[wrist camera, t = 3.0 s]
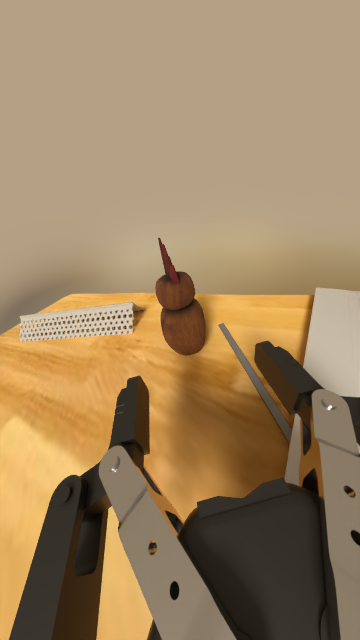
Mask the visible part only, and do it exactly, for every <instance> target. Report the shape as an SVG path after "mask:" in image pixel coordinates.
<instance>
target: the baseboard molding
mask: <svg viewBox="0 0 360 640" xmlns="http://www.w3.org/2000/svg"><path fill="white" fill-rule="evenodd" d="M303 368H304V369H305V370H306V371H307V372H308V373H309V374H310V375H311V376H312V377H313V378H314V379H315V380H316V381H317V382H318V383H319V384H320V385H321V386H322V387H323V388H324V389H326V390H329V391H332V392H334V393H336V394H338V395H339V396H347V397H360V291H348V290H339V289H327V288H316V290H315V296H314V302H313V308H312V314H311V320H310V326H309V332H308V338H307V344H306V350H305V356H304V362H303ZM300 419H301V418H300V417H299V415H298V414H297V413H296V414H295V417H294V423H293V429H292V435H291V441H290V447H289V454H288V460H287V466H286V472H285V478H284V479H285V481H286V482H287V483H292V484H296V485H298V486H299V464H300V459H301V437H300ZM357 446H358V450H359V453H360V446H359V444H358V443H357Z"/></svg>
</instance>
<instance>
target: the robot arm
mask: <svg viewBox="0 0 360 640" xmlns="http://www.w3.org/2000/svg"><path fill="white" fill-rule="evenodd" d="M255 363H256V365H257V367H258V369H259V370H260V371H261V373H262V374H263V376H264V377H265V379H266V380H267V382H268V383H269V385H270V386H271V387H272V389H273V390H274V392H275V393H276V395H277V396H278V398H279V399H280V401H281V402H282V403H283V405H284V406H285V408H286V409H287V411H288V412H289V414H290V415H292V414H296V413H297V414H298V415H299V417H300V418H301V419H300V437H301V459H300V464H299V486H298V485H296V484H292V483H287V482H286V481H285V479H284V478H280V479H277V480H273V481H270V482H266V483H263V484H261V485H260V486H259V487H257V488H256V489H255V490H254V491H252V492H251V493H250V494H249V495H247V496H246V497H245V498H232V497H222V496H217V497H213V498H210V499H206V500H203V501H199V502H197V506H198V507H197V508H195V509H194V510H193V511H192V512H191V513H190V515H189V516H188V517H187V519H186V520H185V522H183V520H182V519H181V517H180V516H179V514H178V513H177V511H176V510H175V508H174V507H173V506H172V504H171V503H170V502H169V500H168V499H167V498H166V497H165V496H164V494H163V493H162V491H161V490H160V488H159V487H158V485H157V484H156V482H155V481H154V479H153V478H152V476H151V475H150V473H149V472H148V470H147V469H146V467H145V466H144V455H146V454H150V447H149V392H148V388H147V386H146V385H145V383H144V381H143V380H142V378H141V376H136V377H132V378H129V379H128V380H127V387H126V388H124V389H122V390H121V392H120V394H119V396H118V398H117V404H116V410H115V416H114V422H113V429H112V435H111V441H110V446H109V449H108V451H107V452H106V453H105V455H104V456H103V458H102V460H101V461H100V462H99V463H98V464H97V465H95V466H94V467H92V468H91V469H90V470H88V471H87V472H85V473H84V474H82V475H81V476H77V475H70V476H68V477H67V478H65V479H64V480H63V481H62V482H61V483H60V484H59V485H58V486H57V488H56V489H55V491H54V493H53V495H52V497H51V500H50V503H49V506H48V510H47V513H46V516H45V520H44V523H43V527H42V530H41V533H40V537H39V540H38V543H37V547H36V550H35V554H34V557H33V560H32V564H31V567H30V570H29V574H28V577H27V581H26V584H25V587H24V591H23V594H22V597H21V601H20V604H19V608H18V611H17V614H16V618H15V621H14V624H13V628H12V631H11V635H10V638H9V640H96V636H97V625H98V615H99V604H100V593H101V582H102V572H103V561H104V550H105V539H106V529H107V518H108V509H109V508H110V507H111V506H113V509H114V511H115V513H116V516H117V518H118V521H119V526H118V532H119V536H120V539H121V542H122V544H123V547H124V549H125V552H126V554H127V557H128V559H129V561H130V564H131V566H132V569H133V571H134V573H135V576H136V578H137V581H138V583H139V585H140V588H141V590H142V593H143V595H144V597H145V600H146V602H147V605H148V607H149V609H150V612H151V614H152V617H153V621H152V625H151V628H150V631H149V635H148V638H147V640H360V453H359V450H358V446H357V443H358V444H359V446H360V397H347V396H339V395H338V394H336V393H334V392H332V391H329V390H326V389H324V388H323V387H322V386H321V385H320V384H319V383H318V382H317V381H316V380H315V379H314V378H313V377H312V376H311V375H310V374H309V373H308V372H307V371H306V370H305V369H304V368H303V367H302V366H301V365H299V363H298V362H297V361H296V360H295V359H294V358H293V357H292V356H291V354H290V353H289V352H288V351H286V350H284V349H283V348H281V347H279V346H278V347H274V346H273V345H272V344H271V343H270V342H269V341H265V342H261V343H257V344H256V346H255Z"/></svg>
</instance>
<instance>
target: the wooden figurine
mask: <svg viewBox="0 0 360 640" xmlns="http://www.w3.org/2000/svg"><path fill="white" fill-rule="evenodd" d="M158 240H159V245H160V250H161V255H162V260H163V264H164V268H165V273H166V275H164V276H162V277H161V278H159V279H158V281H157V283H156V295H157V298H158V301H159V303H160V304H161V305H162V306H163V309H162V312H161V326H162V331H163V335H164V338H165V340H166V342H167V343H168V345H169V346H170V347H171V348H172V349H173V350H175V351H176V352H177V353H179V354H182V355H191V354H194V353H197V352H198V351H199V350H200V349H201V348H202V346H203V344H204V341H205V320H204V314H203V310H202V308H201V306H200V304H199V303H198V301H197V300H196V299H194V296H195V288H194V284H193V281H192V279H191V277H190V276H189V275H188V274H187V273H185V272H176V271H175V268H174V266H173V265H172V262H171V260H170V257H169V256H168V254H167V251H166V248H165V246H164V244H162V242H161V240H160V238H158Z"/></svg>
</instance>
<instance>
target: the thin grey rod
mask: <svg viewBox="0 0 360 640" xmlns="http://www.w3.org/2000/svg"><path fill="white" fill-rule="evenodd" d="M219 327H220V329H221V330H222V332H223V334H224V335H225V337H226V339H227V340H228V342H229V344H230V345H231V347H232V349H233V350H234V352H235V354H236V355H237V357H238V359H239V360H240V362H241V364H242V365H243V367H244V369H245V370H246V372H247V374H248V375H249V377H250V379H251V380H252V382H253V384H254V385H255V387H256V389H257V390H258V392H259V394H260V395H261V397H262V399H263V400H264V402H265V404H266V405H267V407H268V409H269V410H270V412H271V414H272V415H273V417H274V419H275V421H276V422H277V424H278V426H279V427H280V429H281V431H282V432H283V434H284V436H285V437H286V439H287V441H288V442H289V444H290V441H291V435H292V428H291V427H290V425H289V424H288V422H287V421H286V419H285V418H284V416H283V415H282V413H281V411H280V410H279V408H278V407H277V405H276V404H275V402H274V401H273V399H272V398H271V396H270V395H269V393H268V391H267V390H266V388H265V387H264V385H263V384H262V382H261V381H260V379H259V378H258V376H257V375H256V373H255V371H254V370H253V368H252V367H251V365H250V364H249V362H248V361H247V359H246V358H245V356H244V354H243V353H242V351H241V350H240V348H239V347H238V345H237V344H236V342H235V341H234V339H233V338H232V336H231V334H230V333H229V331H228V330H227V328H226V327H225V325H224V324H219Z"/></svg>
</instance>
